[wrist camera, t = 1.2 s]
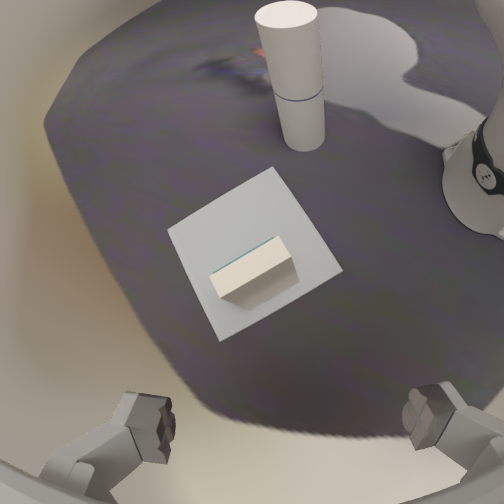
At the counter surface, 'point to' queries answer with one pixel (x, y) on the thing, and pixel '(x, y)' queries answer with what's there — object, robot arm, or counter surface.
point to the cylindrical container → (295, 70)
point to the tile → (256, 275)
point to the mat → (250, 247)
